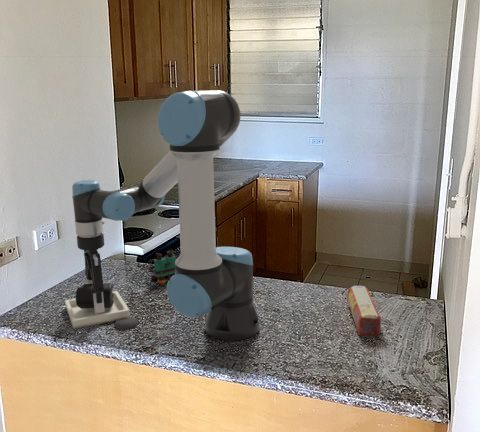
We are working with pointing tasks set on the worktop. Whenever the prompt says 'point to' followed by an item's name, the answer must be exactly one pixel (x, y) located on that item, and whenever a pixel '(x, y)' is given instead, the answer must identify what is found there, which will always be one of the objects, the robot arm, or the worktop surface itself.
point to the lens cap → (126, 323)
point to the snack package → (364, 311)
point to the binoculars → (163, 267)
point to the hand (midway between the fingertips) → (96, 306)
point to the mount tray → (90, 318)
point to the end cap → (86, 297)
